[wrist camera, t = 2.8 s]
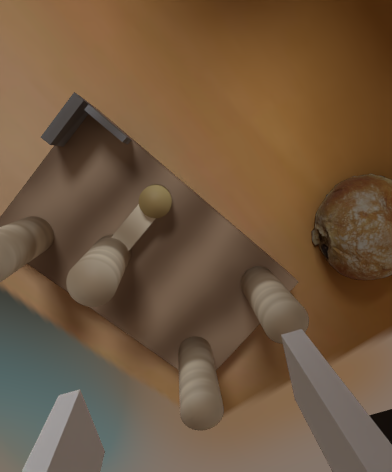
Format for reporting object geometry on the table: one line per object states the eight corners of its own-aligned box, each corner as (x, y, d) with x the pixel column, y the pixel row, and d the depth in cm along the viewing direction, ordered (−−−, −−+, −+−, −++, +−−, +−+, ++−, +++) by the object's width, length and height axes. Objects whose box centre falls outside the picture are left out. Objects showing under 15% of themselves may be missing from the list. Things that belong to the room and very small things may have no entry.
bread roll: (295, 194, 36) (292, 223, 29) (397, 145, 31) (423, 166, 24) (336, 266, 38) (342, 309, 31) (436, 231, 33) (470, 272, 26)
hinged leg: (151, 175, 27) (143, 180, 20) (180, 200, 28) (183, 213, 20) (86, 254, 28) (56, 287, 21) (115, 277, 29) (96, 315, 22)
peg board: (2, 226, 30) (-87, 260, 20) (94, 106, 29) (49, 74, 18) (199, 367, 35) (210, 454, 25) (287, 271, 33) (340, 321, 23)
